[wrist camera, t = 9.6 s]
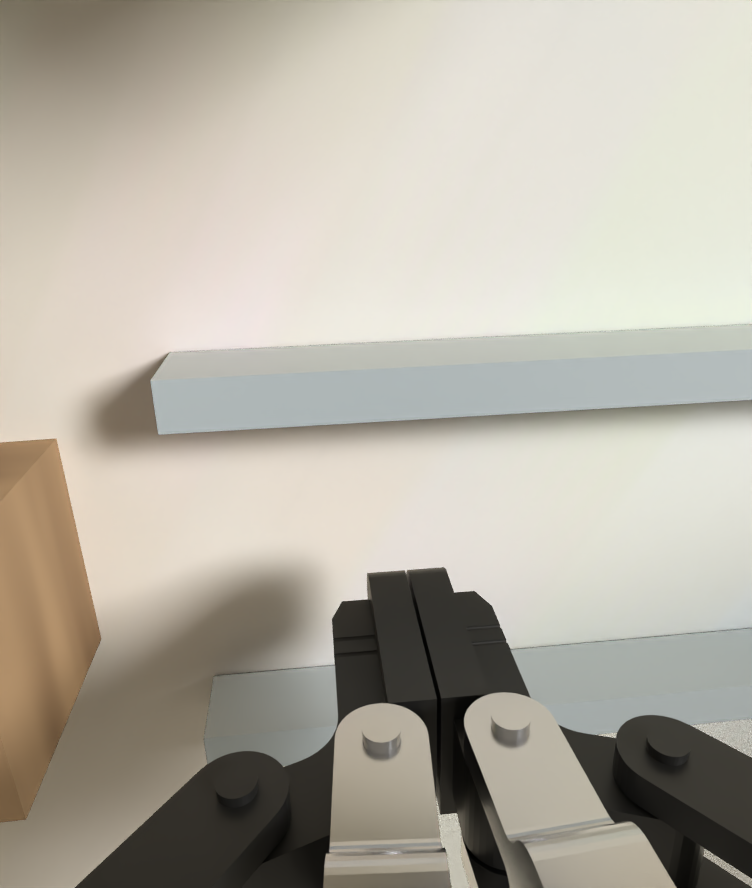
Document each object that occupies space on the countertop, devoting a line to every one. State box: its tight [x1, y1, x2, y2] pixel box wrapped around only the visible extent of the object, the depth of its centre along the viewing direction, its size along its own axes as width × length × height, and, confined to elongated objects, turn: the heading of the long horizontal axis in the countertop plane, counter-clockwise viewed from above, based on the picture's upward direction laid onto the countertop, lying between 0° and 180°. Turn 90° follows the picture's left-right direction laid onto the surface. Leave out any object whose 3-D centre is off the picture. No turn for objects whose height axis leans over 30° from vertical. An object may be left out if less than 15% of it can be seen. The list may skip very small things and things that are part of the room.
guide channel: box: [150, 324, 752, 766], centre depth 16 cm, size 20×9×2 cm, turn 91°
